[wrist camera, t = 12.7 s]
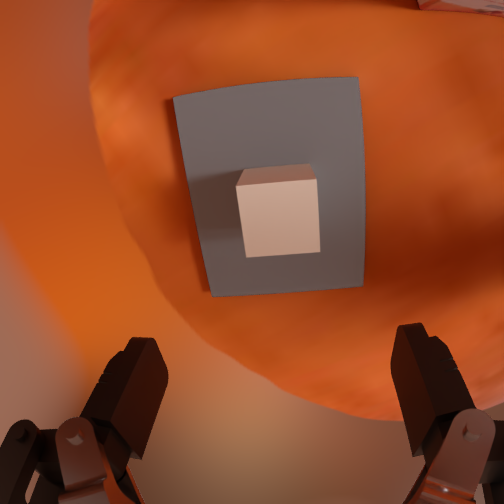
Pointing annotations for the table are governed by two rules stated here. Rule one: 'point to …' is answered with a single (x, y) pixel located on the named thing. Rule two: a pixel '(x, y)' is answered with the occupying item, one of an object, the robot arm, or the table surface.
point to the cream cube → (279, 210)
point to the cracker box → (465, 6)
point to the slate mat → (276, 154)
